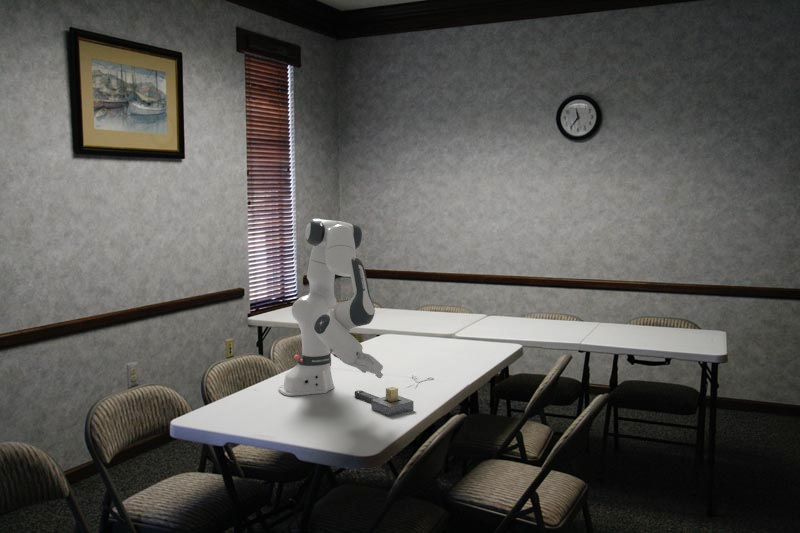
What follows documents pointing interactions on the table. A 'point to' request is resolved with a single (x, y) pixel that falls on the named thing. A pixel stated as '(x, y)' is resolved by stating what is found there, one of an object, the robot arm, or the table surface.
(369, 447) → the table surface
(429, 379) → the scissors
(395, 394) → the bar
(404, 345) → the table surface
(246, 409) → the table surface
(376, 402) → the grey handled square frame
